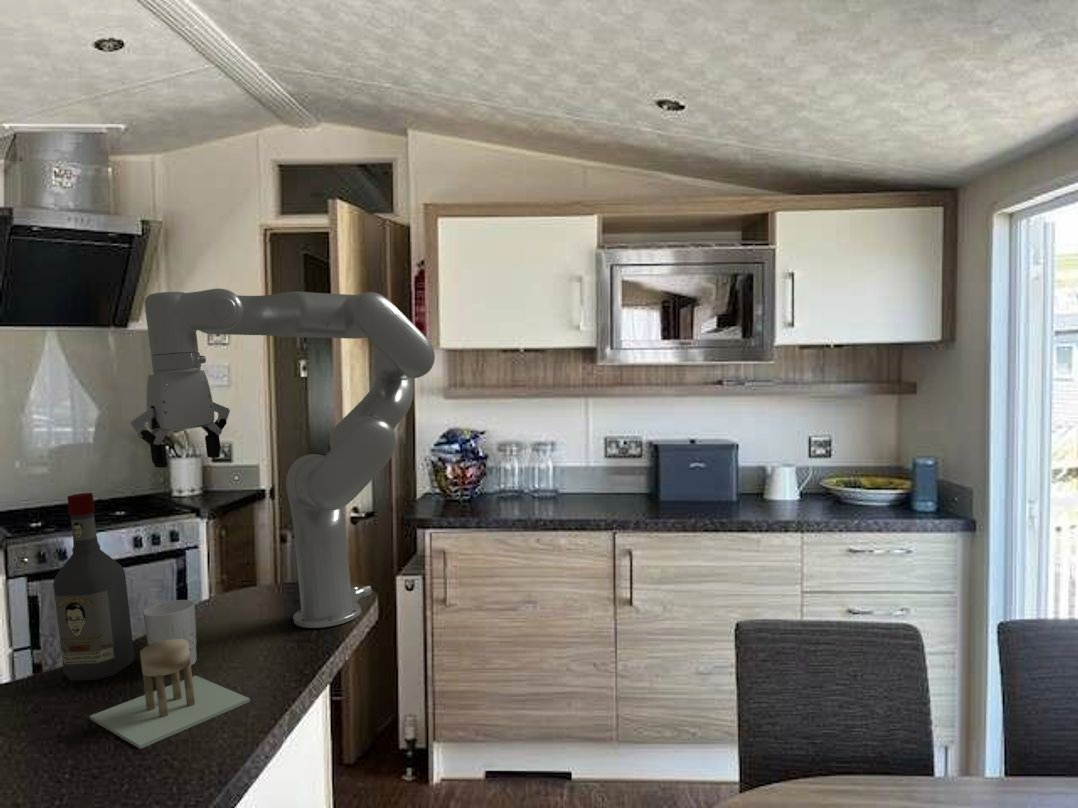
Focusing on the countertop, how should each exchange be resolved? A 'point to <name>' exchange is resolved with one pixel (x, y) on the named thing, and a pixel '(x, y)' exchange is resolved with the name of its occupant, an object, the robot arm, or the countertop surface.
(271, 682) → the countertop surface
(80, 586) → the liquor
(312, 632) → the countertop surface
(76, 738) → the countertop surface
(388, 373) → the robot arm
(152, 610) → the white cup
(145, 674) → the round tan stool
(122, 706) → the sage mat
